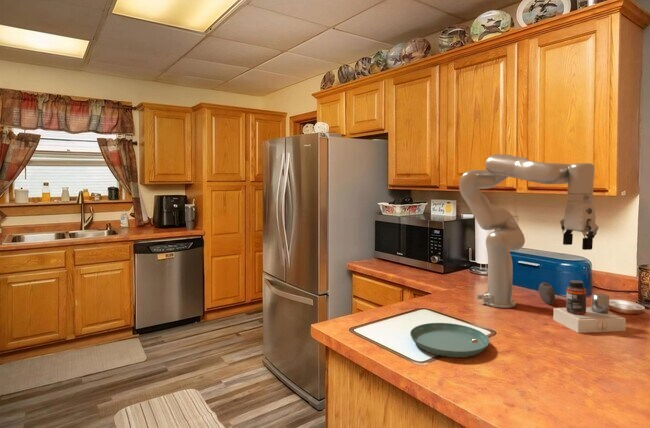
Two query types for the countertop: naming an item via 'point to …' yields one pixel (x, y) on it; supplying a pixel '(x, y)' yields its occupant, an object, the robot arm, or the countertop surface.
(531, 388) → the countertop surface
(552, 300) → the perforated stone tool
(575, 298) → the supplement bottle
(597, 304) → the spacer
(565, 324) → the scale
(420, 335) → the saucer
